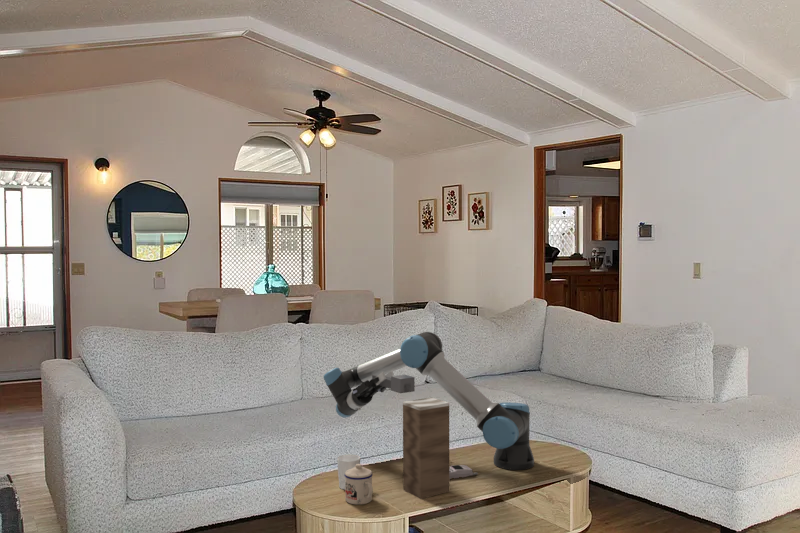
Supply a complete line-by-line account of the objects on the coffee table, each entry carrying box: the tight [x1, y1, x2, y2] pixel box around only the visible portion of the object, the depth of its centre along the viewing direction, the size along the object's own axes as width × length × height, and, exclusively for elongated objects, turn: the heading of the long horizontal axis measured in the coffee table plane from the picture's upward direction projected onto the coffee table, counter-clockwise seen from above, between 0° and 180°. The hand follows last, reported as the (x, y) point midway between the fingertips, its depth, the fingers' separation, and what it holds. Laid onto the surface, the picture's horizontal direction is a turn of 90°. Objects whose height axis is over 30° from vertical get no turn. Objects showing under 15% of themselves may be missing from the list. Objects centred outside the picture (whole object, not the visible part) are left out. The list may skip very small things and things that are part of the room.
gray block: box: [372, 374, 416, 394], centre depth 250 cm, size 21×6×5 cm, turn 34°
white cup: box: [336, 454, 361, 491], centre depth 238 cm, size 8×8×10 cm
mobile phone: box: [449, 464, 479, 480], centre depth 247 cm, size 6×6×25 cm
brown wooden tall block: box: [402, 397, 450, 500], centre depth 233 cm, size 10×12×30 cm
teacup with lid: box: [344, 463, 374, 506], centre depth 224 cm, size 12×9×12 cm
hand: (388, 374), depth 252 cm, fingers closed on gray block, 3 cm apart
